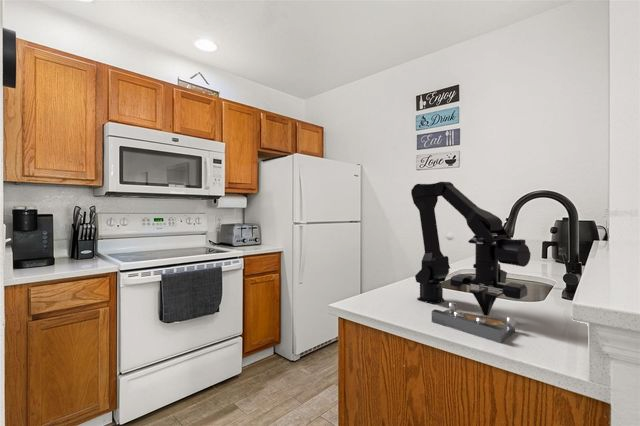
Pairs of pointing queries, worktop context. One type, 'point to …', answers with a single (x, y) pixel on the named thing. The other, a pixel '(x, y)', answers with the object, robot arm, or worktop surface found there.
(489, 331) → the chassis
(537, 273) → the worktop surface
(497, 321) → the shard
